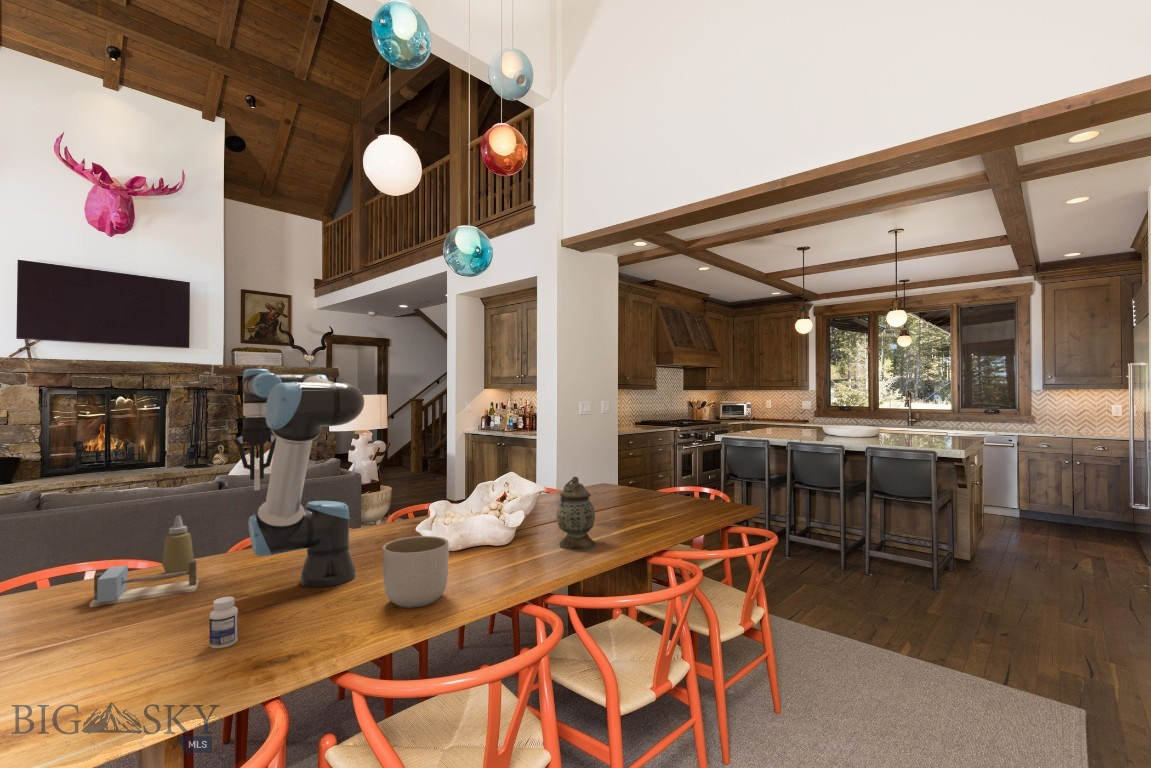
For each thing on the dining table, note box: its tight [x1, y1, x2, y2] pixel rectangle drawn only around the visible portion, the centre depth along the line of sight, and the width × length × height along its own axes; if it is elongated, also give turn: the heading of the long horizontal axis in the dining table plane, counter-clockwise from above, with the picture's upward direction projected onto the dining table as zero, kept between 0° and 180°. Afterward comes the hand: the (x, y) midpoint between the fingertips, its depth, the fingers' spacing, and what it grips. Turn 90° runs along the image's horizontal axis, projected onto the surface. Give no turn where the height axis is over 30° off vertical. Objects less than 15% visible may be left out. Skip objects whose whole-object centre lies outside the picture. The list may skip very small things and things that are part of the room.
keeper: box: [97, 565, 129, 603], centre depth 149 cm, size 4×12×6 cm, turn 29°
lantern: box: [556, 476, 597, 551], centre depth 197 cm, size 14×14×25 cm
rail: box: [89, 559, 200, 608], centre depth 153 cm, size 23×8×8 cm, turn 119°
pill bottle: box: [209, 596, 239, 649], centre depth 121 cm, size 5×5×10 cm
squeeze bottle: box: [161, 515, 195, 574], centre depth 171 cm, size 8×8×18 cm
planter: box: [382, 535, 450, 609], centre depth 145 cm, size 17×17×15 cm
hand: (257, 489), depth 175 cm, fingers closed
